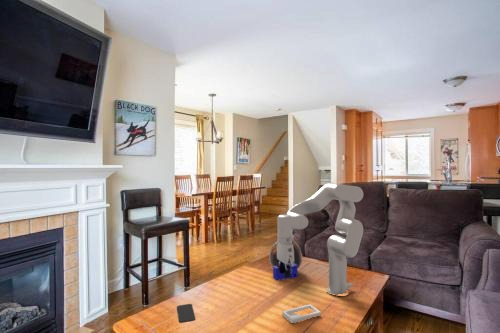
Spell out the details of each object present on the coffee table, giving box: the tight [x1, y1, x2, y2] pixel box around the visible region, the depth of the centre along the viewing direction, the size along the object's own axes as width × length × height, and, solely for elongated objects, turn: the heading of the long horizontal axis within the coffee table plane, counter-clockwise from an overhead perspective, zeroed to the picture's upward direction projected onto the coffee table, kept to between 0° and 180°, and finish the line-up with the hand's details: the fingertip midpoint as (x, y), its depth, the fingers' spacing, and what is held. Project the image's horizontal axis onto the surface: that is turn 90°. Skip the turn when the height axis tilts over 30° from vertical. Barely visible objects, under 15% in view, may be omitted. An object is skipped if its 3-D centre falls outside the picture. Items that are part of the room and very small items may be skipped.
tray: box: [281, 303, 322, 324], centre depth 131 cm, size 16×8×2 cm, turn 115°
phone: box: [176, 303, 196, 324], centre depth 133 cm, size 7×1×15 cm
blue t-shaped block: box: [272, 263, 298, 281], centre depth 142 cm, size 12×4×6 cm, turn 109°
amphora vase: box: [268, 229, 303, 275], centre depth 183 cm, size 22×22×28 cm
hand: (284, 275), depth 141 cm, fingers closed on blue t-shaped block, 4 cm apart
